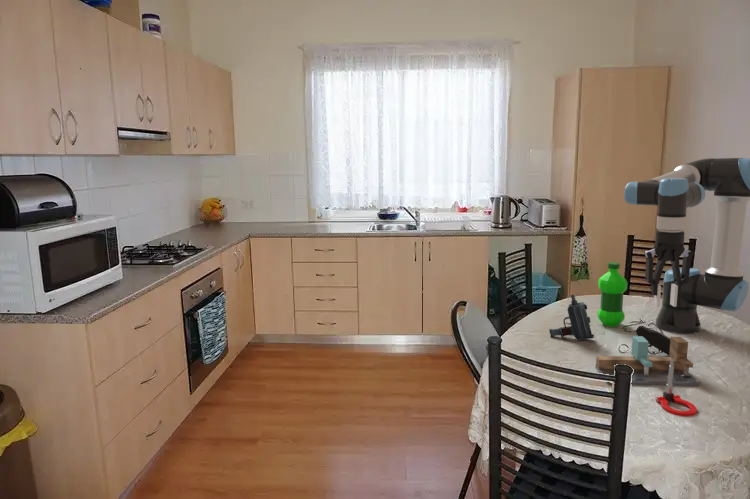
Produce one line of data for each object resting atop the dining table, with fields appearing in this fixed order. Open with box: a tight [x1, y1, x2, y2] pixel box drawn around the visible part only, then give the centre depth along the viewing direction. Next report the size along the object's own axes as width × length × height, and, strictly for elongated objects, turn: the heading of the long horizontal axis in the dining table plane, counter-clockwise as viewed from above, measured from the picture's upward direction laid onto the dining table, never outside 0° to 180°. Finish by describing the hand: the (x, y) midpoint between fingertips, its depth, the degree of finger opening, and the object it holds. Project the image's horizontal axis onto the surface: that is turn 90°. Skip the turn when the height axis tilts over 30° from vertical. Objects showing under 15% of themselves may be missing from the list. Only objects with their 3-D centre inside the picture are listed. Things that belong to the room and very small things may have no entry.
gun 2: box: [635, 325, 671, 357], centre depth 178 cm, size 3×16×10 cm, turn 58°
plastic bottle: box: [597, 261, 628, 328], centre depth 207 cm, size 10×10×25 cm
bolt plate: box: [595, 364, 700, 387], centre depth 162 cm, size 26×12×1 cm, turn 83°
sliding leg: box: [631, 335, 653, 376], centre depth 163 cm, size 3×10×9 cm, turn 173°
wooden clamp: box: [595, 336, 694, 376], centre depth 163 cm, size 26×10×9 cm, turn 83°
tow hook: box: [655, 358, 698, 417], centre depth 141 cm, size 8×13×9 cm
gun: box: [548, 294, 595, 341], centre depth 195 cm, size 3×17×15 cm
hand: (664, 305), depth 161 cm, fingers open, 4 cm apart
